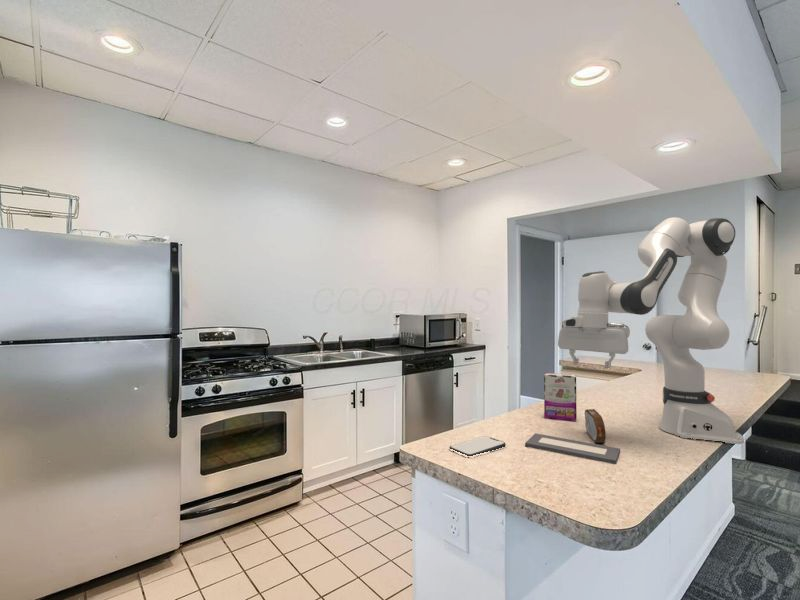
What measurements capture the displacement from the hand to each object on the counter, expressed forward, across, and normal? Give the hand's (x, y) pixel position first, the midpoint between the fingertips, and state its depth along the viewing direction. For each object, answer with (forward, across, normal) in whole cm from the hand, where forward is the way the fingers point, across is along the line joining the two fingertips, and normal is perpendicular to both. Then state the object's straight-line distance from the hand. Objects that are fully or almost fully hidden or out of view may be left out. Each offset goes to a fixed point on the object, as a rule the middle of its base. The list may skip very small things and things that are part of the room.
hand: (591, 365), depth 130 cm
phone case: (+24, +24, +30) cm, 46 cm away
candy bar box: (+23, +14, -18) cm, 32 cm away
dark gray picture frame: (+23, +2, +14) cm, 27 cm away
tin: (+23, -1, -1) cm, 23 cm away
